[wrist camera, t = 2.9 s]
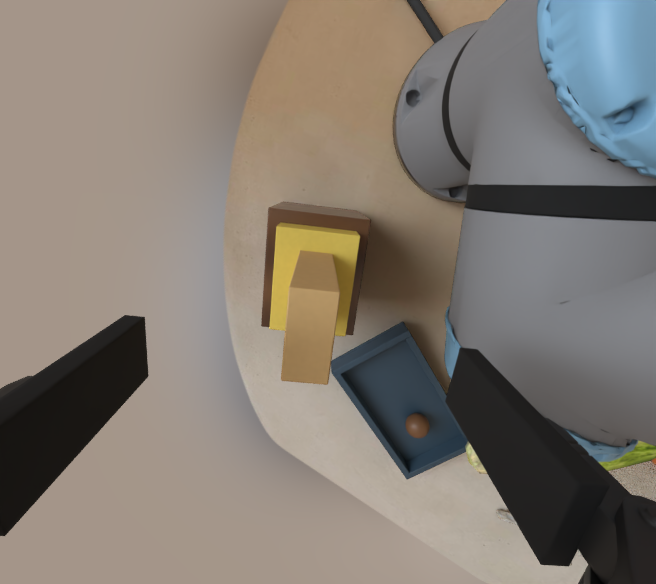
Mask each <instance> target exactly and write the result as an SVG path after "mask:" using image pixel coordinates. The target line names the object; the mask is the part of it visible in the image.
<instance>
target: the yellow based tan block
mask: <svg viewBox="0 0 656 584" xmlns="http://www.w3.org/2000/svg"><path fill="white" fill-rule="evenodd" d="M359 242H360V235H359V234H358V233H357V232H356V231H349V230H341V229H332V228H324V227H315V226H307V225H298V224H290V223H280V224H279V225H278V226H277V227H276V241H275V255H274V270H273V285H272V299H271V314H270V329H274V330H284V331H285V337H284V349H283V361H282V373H281V380H282V381H291V382H302V383H314V384H325V385H327V384H328V380H329V373H330V366H331V359H332V351H333V344H334V337H335V335H336V336H345V335H346V329H347V322H348V315H349V309H350V302H351V295H352V289H353V282H354V275H355V269H356V262H357V255H358V249H359Z"/></svg>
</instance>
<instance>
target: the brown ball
mask: <svg viewBox="0 0 656 584" xmlns="http://www.w3.org/2000/svg"><path fill="white" fill-rule="evenodd" d="M405 427H406V430H407V432H408V433H409V434H410V435H411V436H412V437H414V438H423V437H425V436H426V435H427V434H428V432H429V429H430V425H429V421H428V420H427V418H426V417H425V416H424V415H422V414H420V413H413V414H411V415H409V416H408V417H407V419H406V422H405Z"/></svg>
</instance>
